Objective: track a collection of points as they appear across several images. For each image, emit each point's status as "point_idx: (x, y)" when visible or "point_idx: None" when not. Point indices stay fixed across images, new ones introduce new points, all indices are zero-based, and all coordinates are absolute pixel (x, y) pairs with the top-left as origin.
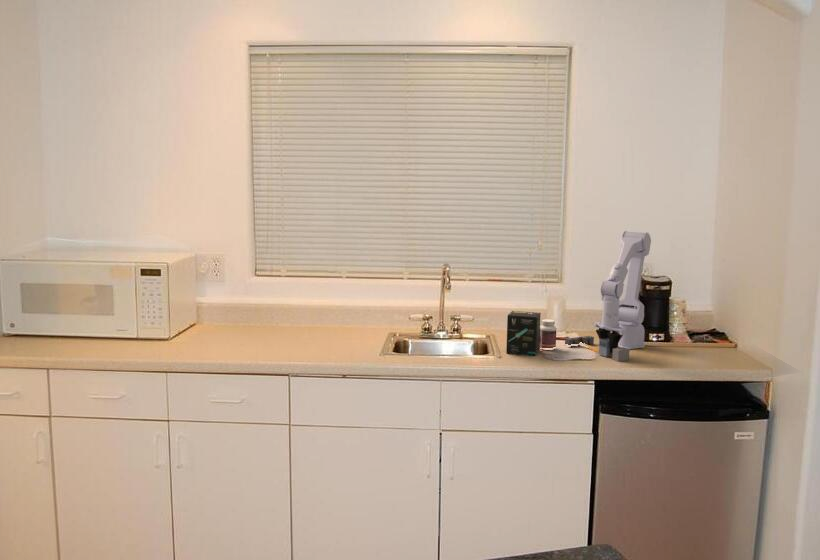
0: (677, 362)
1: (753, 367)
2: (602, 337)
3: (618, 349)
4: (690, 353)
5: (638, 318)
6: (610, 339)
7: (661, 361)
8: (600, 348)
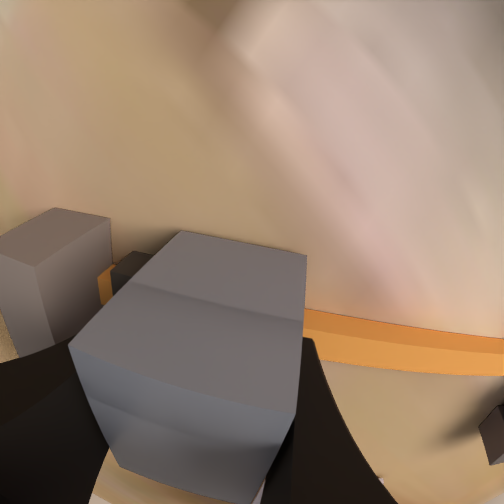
0: None
1: None
2: (284, 473)
3: (8, 283)
4: (129, 489)
5: None
6: (20, 379)
7: None
8: (271, 289)
